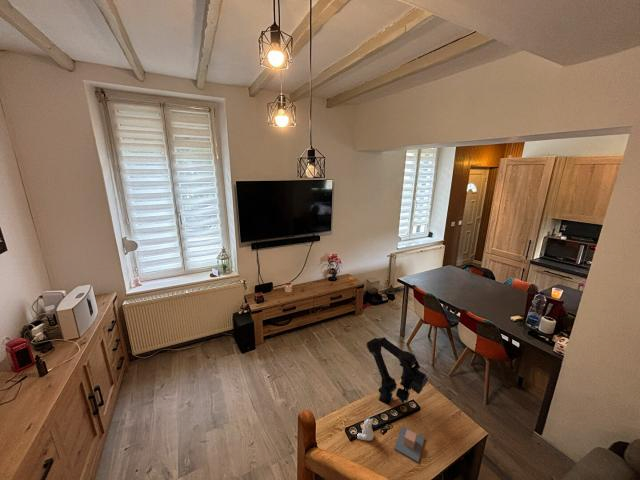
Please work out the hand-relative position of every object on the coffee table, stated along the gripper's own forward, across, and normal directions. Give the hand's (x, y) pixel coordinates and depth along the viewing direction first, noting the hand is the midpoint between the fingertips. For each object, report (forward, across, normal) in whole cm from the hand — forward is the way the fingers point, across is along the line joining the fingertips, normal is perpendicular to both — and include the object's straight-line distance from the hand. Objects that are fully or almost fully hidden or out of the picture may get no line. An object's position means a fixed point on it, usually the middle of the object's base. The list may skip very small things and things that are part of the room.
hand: (404, 397), depth 152 cm
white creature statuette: (+12, -24, +13) cm, 30 cm away
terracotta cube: (+11, -16, -8) cm, 21 cm away
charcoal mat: (+12, -16, -8) cm, 22 cm away
